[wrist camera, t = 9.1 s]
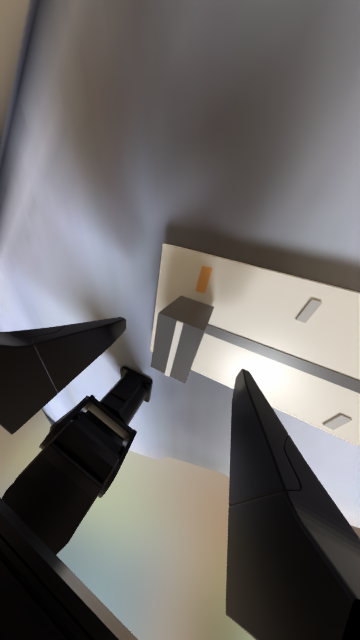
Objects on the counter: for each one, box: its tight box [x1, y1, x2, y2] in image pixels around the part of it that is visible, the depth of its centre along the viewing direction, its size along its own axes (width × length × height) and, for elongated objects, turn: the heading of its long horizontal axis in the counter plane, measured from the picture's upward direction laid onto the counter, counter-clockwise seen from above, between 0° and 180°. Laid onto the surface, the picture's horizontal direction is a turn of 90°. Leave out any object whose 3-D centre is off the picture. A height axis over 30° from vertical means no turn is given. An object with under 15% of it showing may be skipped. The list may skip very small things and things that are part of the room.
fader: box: [151, 296, 214, 383], centre depth 11 cm, size 5×3×4 cm, turn 167°
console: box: [150, 244, 360, 447], centre depth 12 cm, size 12×22×2 cm, turn 77°
